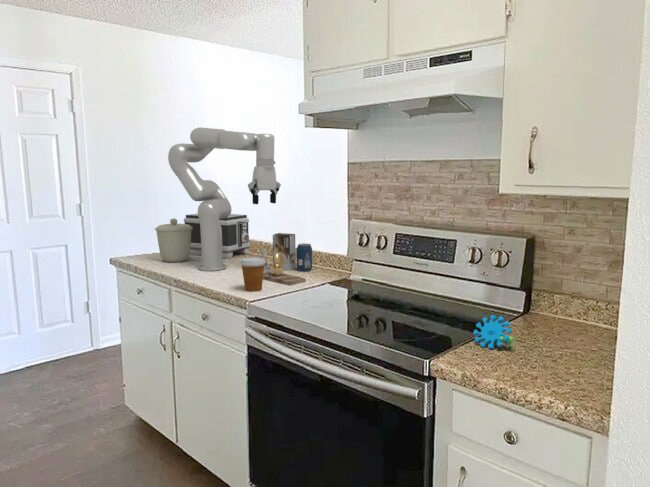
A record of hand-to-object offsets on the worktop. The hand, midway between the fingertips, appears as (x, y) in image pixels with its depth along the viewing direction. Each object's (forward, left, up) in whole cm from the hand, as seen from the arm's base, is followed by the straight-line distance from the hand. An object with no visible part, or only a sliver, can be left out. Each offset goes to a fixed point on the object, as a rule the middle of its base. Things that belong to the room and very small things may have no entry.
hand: (264, 203), depth 220 cm
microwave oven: (-55, +16, -31) cm, 66 cm away
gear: (+113, -17, -31) cm, 118 cm away
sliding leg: (+10, -4, -29) cm, 31 cm away
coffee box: (-3, +14, -31) cm, 34 cm away
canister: (-57, -10, -31) cm, 65 cm away
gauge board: (+11, -3, -31) cm, 33 cm away
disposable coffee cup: (+18, -22, -31) cm, 42 cm away
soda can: (+7, +17, -31) cm, 36 cm away
